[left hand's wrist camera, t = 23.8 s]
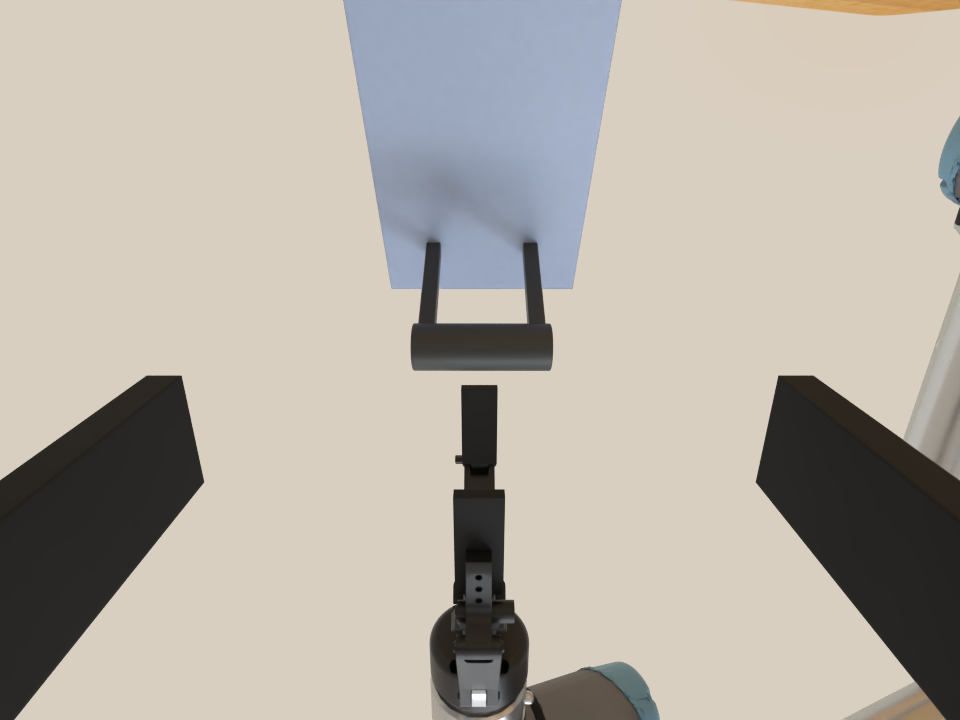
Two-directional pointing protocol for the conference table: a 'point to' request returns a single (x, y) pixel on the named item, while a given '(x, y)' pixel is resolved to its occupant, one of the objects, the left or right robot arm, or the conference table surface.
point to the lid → (482, 156)
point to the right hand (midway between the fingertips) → (479, 430)
